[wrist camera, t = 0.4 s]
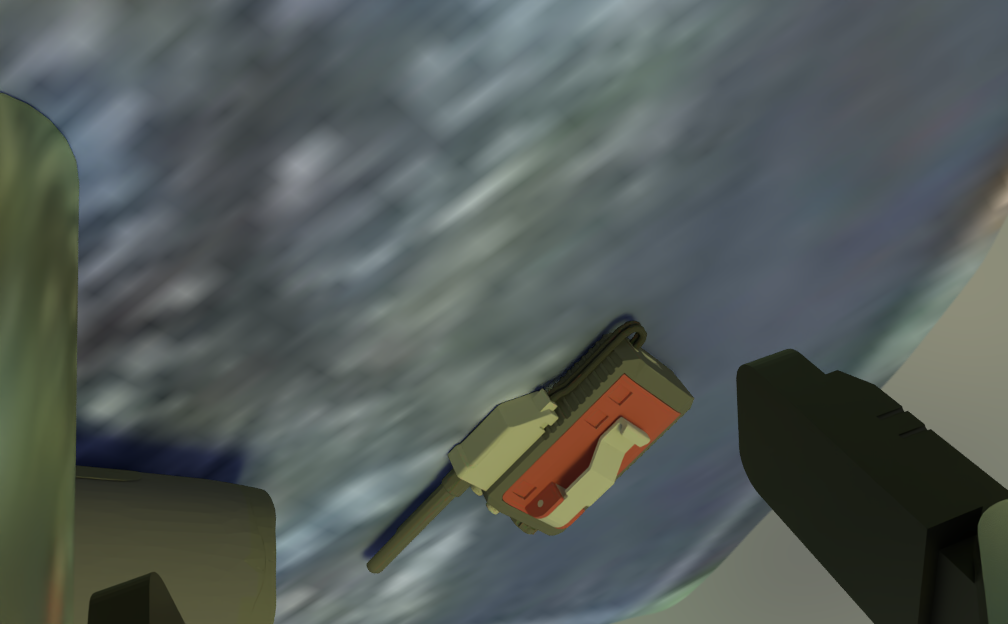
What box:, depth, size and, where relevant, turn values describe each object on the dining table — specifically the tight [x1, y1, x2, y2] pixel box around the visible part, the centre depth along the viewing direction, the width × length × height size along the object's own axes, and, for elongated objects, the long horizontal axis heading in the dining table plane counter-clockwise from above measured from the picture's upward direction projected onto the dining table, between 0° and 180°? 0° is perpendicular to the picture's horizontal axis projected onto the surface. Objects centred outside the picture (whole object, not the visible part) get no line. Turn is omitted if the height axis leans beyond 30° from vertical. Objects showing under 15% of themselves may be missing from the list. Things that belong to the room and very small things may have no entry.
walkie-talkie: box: [367, 321, 694, 573], centre depth 50 cm, size 9×4×20 cm
